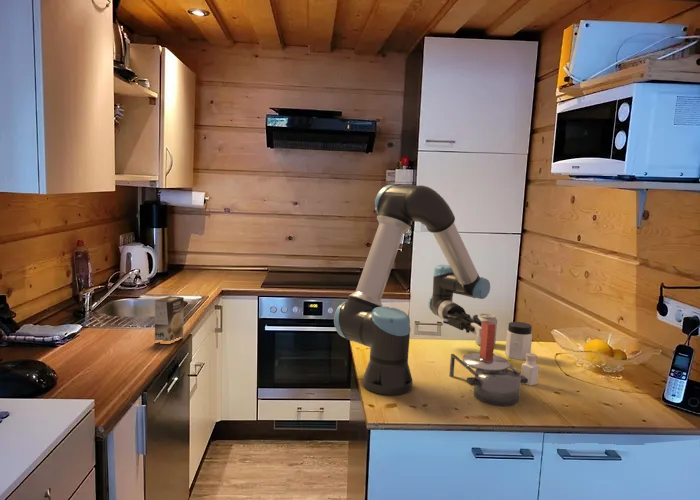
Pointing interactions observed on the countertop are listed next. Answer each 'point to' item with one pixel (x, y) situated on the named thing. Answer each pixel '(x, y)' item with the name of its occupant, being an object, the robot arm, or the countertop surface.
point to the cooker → (494, 384)
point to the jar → (518, 340)
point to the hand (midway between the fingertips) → (481, 332)
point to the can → (487, 318)
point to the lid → (486, 352)
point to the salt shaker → (530, 369)
